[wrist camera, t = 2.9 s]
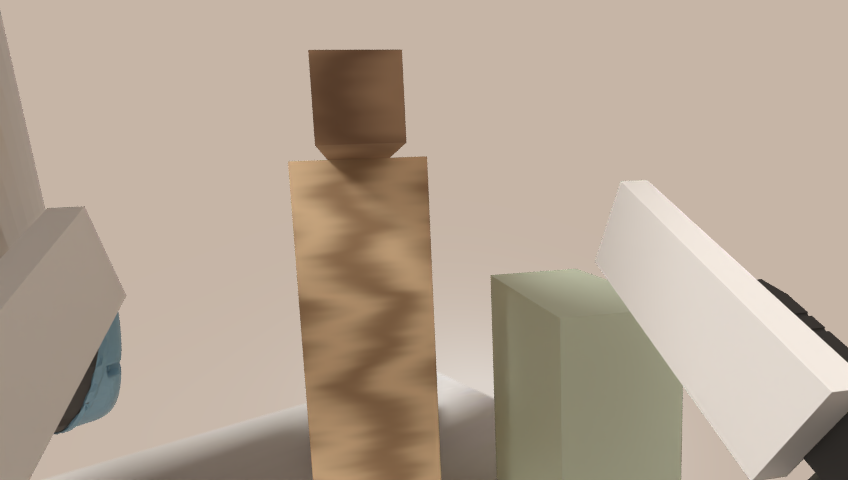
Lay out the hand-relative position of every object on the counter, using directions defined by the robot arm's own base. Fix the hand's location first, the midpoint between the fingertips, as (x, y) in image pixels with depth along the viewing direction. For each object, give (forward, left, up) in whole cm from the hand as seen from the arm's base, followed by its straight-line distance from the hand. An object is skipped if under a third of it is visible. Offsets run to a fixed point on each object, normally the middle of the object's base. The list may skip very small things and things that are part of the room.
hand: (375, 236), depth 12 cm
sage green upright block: (+15, +20, -27) cm, 37 cm away
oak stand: (0, +25, -27) cm, 37 cm away
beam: (0, +21, +3) cm, 21 cm away
